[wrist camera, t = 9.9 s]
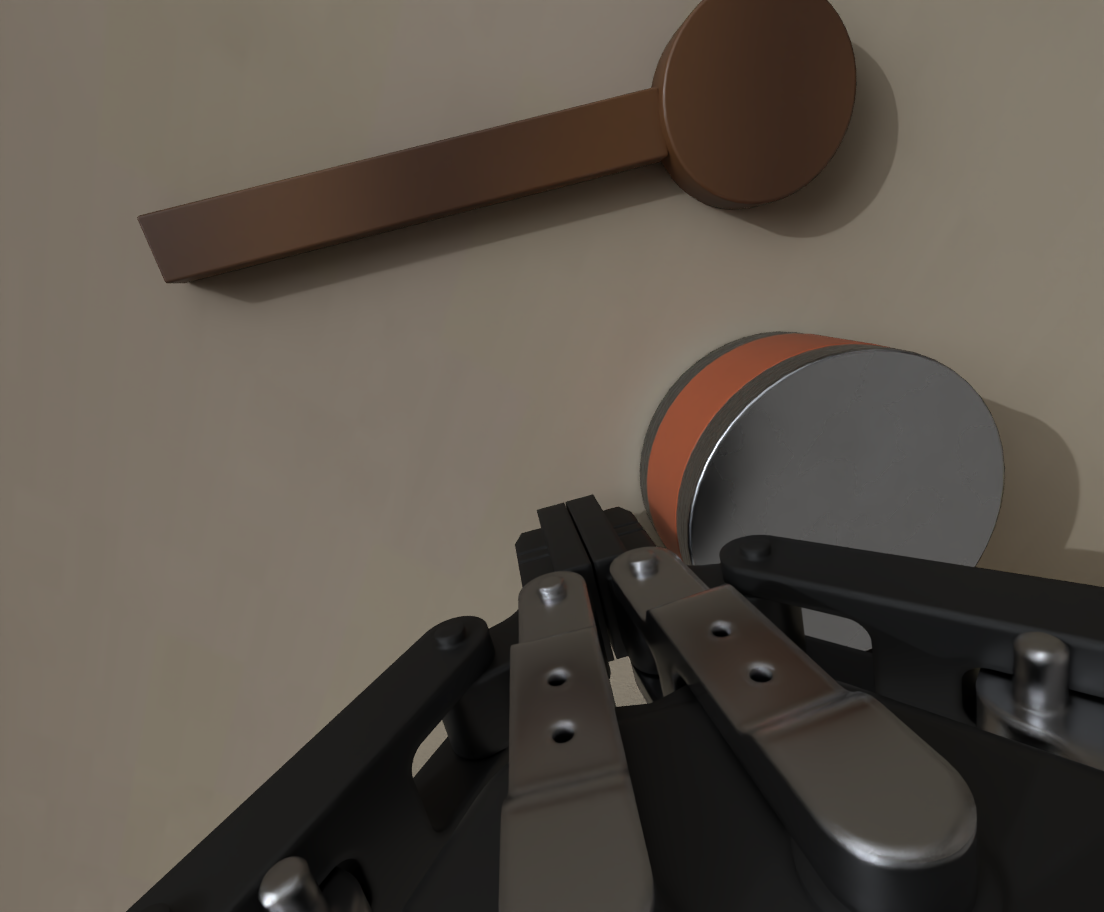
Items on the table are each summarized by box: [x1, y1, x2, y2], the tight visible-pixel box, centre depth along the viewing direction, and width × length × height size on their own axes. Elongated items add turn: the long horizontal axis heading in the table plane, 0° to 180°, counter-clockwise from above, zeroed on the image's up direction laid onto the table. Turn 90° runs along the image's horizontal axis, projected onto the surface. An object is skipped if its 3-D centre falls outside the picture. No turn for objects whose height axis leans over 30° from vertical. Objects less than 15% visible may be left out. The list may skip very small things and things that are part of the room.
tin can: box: [640, 332, 1005, 651], centre depth 14 cm, size 7×7×4 cm
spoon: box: [137, 0, 856, 283], centre depth 13 cm, size 16×4×1 cm, turn 104°
